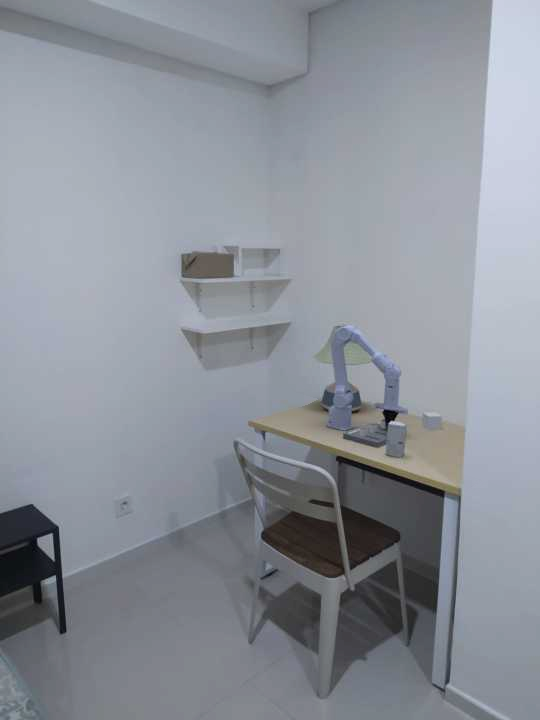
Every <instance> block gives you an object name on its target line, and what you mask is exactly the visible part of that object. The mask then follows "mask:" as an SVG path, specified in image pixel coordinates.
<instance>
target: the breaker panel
mask: <svg viewBox="0 0 540 720" xmlns="http://www.w3.org/2000/svg"><path fill="white" fill-rule="evenodd" d="M380 427H381V423H377V422H371V423H368V424H366V425H363V426H360V427H357V428H355V429H352V430H350V431H349V430H348V431H347V432H346V431H345V432H343V434H342V438H343V439H344V440H348V441H352V442H354V443H359V444H363V445H366V446H370V447H373V448H377V449H378V448H380V447H383V446H385V445H386V444H387V432H388V428H386V429H383V428H380ZM407 431H408V430H406V434H407Z"/></svg>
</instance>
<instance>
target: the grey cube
mask: <svg viewBox="0 0 540 720" xmlns="http://www.w3.org/2000/svg"><path fill="white" fill-rule="evenodd" d="M442 421H443V416H442V415H440V414H439V413H438V412H422V422H421V426H422V427H423V428H424V429H426V430H427V431H434V430H435V431H437V430H438V431H439V430H442Z"/></svg>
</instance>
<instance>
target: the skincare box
mask: <svg viewBox="0 0 540 720" xmlns="http://www.w3.org/2000/svg"><path fill="white" fill-rule="evenodd" d="M407 426H408V423H405V422H401V421H391V422H390V423H389V424H388V432H387V444H385V445H386V446H385V455H386V456H390V457H396V458H402V457H403V456H404V455H405V451H406V450H405V449H406V448H405V447H406V437H407V433H406V431H407Z"/></svg>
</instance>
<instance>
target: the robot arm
mask: <svg viewBox="0 0 540 720" xmlns="http://www.w3.org/2000/svg"><path fill="white" fill-rule="evenodd" d="M341 326H342V327H340V328H339V329H338V330H337V331H336V332H335V335H334V338H333V340H332V342H331V352H332V360H333V364H332V367H333V374H334V382H335V383H336V387H335V391H334V399H333V403H334V405H333V406H331V407H330V409H329V410H328V414H327V416H328V418H327V424H326V427H328V428H331V429H335V430H339V431H343V432H346V431H349V430H351V429H354V428H356V425H352V413H353V412H352V406H351V403H352V402H353V399H354V396H353V393H352V392H351V389H350V386H349V385H348V382H349V381H348V374H347V365H346V364H345V356H344V346H345V345H346V344H347V343H348V342H349V341H350V342H351V343H357V344H359V345H360V346H361V347H362V348H363V349H364V350H365V352H366V353H367V354H368V356H369V357H370V358H371V359H372V362H371V363H372V364H373V365H374V366H375V367H376V368H377V369H378V371H380V372H381V373H382V374H383V378H384V380H385V383H384V397H383V403H382V402H375V403H374V407H373V408H374V409H380V410H382V413H381V414H382V415H383V418H384V419H385V420H386V424H387V428H388V424H389V423H390V422H391V421H395V420H396V418H397V417H398V415H399V414H402V415H408V413H409V409H408V408H404V407H402V406H399V399H400V398H399V395H400V378H401V375H402V370H401V368H400V367H399V365H397V364H395V363H394V362H392V361H391V360H390V359H389V358H388V355H387V354H386V353H384V352H382V351H378V350H377V349H376V348H375V346H373V345H372V343H371V342H370V341H369V340H368V339H367V337H366V336H365V335H364V333H362V331H361V330H360V329H358V328H357V326H356V325H354V324H353V323H349V324H347V325H346V326H343V325H341ZM395 422H396V421H395Z"/></svg>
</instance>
